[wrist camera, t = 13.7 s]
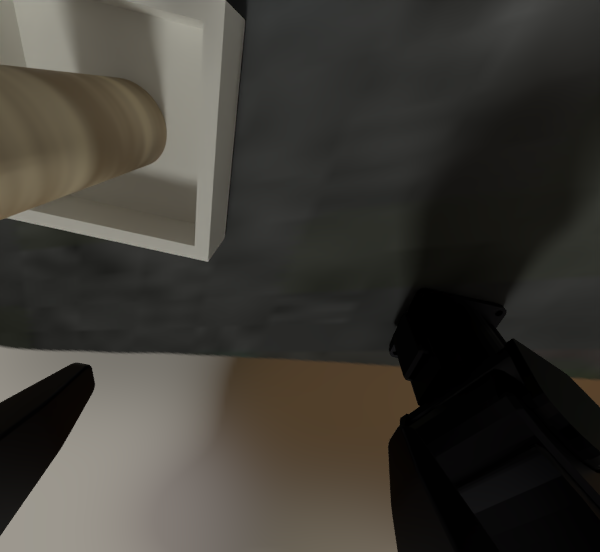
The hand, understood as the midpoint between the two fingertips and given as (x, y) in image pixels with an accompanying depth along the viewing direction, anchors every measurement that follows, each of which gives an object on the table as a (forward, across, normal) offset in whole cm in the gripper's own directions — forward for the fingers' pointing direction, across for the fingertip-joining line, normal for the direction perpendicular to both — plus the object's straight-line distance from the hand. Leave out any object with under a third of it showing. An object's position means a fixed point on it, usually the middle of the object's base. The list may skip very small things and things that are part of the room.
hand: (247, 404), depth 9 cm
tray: (+13, +10, -4) cm, 17 cm away
